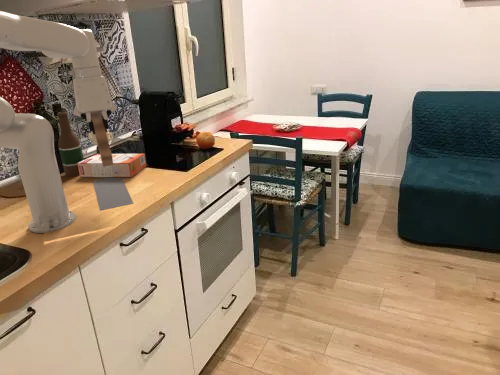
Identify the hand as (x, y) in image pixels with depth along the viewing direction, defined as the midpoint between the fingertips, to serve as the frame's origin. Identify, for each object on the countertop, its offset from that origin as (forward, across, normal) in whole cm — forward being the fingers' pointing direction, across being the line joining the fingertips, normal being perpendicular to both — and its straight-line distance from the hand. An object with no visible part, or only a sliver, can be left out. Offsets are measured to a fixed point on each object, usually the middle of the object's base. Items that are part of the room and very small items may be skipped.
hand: (99, 132), depth 132 cm
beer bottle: (+21, -10, +29) cm, 37 cm away
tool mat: (+21, 0, 0) cm, 21 cm away
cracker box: (+18, +12, +15) cm, 26 cm away
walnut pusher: (+2, 0, 0) cm, 2 cm away
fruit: (+21, +44, +33) cm, 59 cm away
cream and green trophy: (+21, +2, +44) cm, 49 cm away
